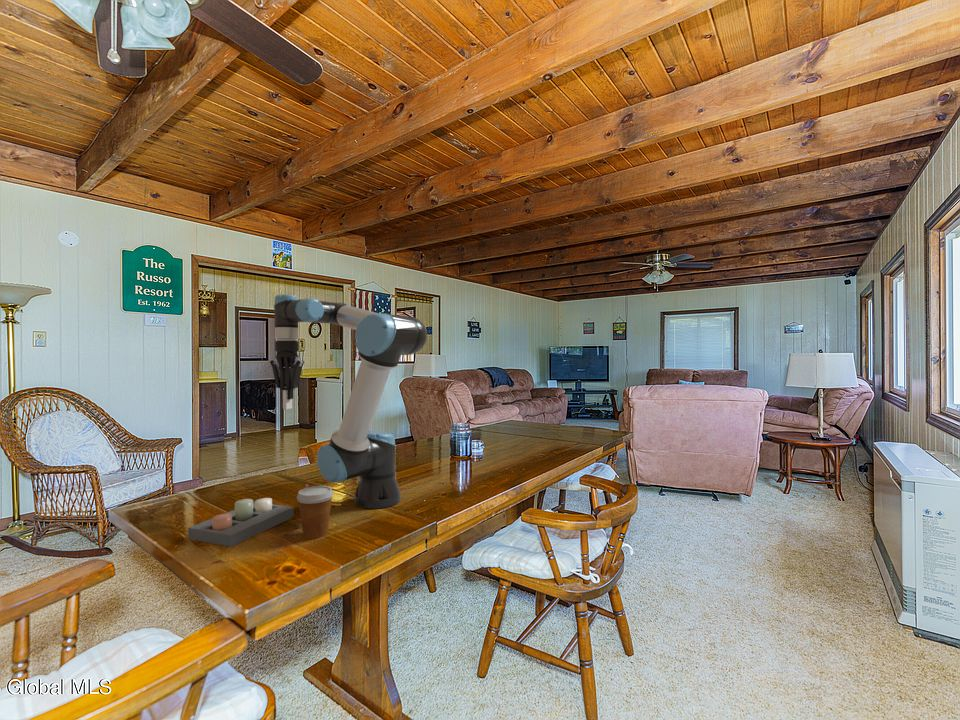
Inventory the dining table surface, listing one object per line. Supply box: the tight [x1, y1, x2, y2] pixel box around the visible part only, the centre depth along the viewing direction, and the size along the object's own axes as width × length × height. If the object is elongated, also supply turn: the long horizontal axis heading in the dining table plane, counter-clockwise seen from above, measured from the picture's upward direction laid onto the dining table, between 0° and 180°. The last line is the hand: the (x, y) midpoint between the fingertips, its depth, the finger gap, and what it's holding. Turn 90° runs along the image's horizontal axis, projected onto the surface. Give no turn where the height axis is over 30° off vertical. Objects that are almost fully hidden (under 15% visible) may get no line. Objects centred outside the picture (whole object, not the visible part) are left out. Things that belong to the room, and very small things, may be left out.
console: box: [187, 501, 294, 548], centre depth 127 cm, size 15×22×3 cm
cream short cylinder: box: [254, 497, 273, 513], centre depth 134 cm, size 5×5×5 cm
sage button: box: [234, 498, 254, 522], centre depth 127 cm, size 5×5×5 cm
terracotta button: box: [211, 513, 232, 531], centre depth 121 cm, size 5×5×5 cm
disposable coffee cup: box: [296, 485, 335, 540], centre depth 122 cm, size 10×10×12 cm
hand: (287, 408), depth 154 cm, fingers closed
